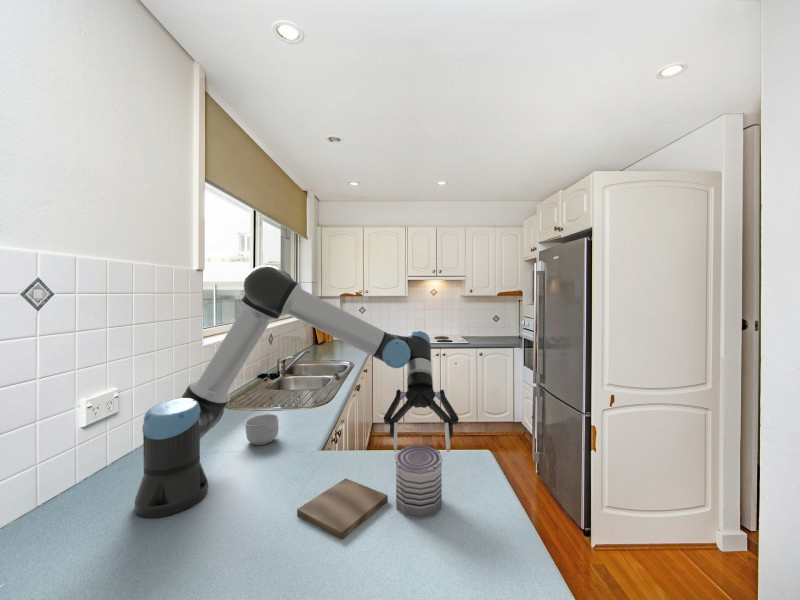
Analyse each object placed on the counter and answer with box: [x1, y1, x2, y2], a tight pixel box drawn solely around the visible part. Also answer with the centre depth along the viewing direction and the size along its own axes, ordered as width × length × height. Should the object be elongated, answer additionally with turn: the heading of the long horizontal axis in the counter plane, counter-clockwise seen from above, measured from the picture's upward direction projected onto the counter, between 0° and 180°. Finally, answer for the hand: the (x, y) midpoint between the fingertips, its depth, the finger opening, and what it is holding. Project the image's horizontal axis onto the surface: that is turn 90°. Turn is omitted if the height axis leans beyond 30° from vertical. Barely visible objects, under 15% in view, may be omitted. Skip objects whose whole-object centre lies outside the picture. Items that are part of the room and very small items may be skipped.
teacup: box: [244, 412, 279, 446], centre depth 120 cm, size 14×11×8 cm
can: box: [394, 444, 444, 521], centre depth 81 cm, size 11×11×12 cm
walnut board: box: [296, 478, 389, 540], centre depth 80 cm, size 16×14×2 cm
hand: (421, 449), depth 87 cm, fingers open, 13 cm apart
